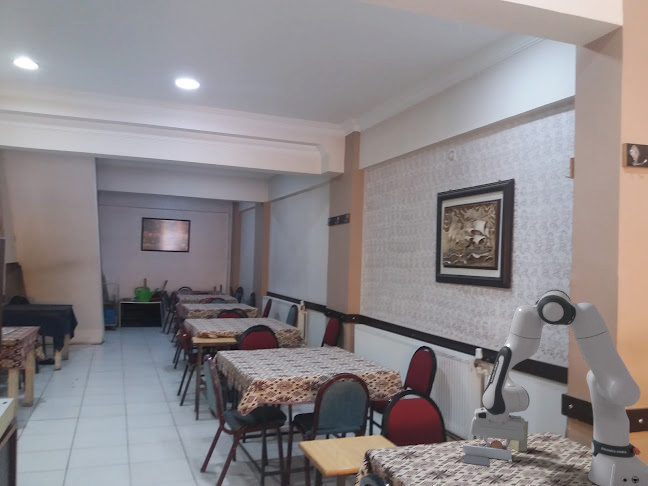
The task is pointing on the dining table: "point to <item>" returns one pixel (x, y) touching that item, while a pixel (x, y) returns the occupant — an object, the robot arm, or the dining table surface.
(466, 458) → the coaster
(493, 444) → the ball
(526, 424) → the skincare box
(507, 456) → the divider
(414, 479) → the dining table surface
